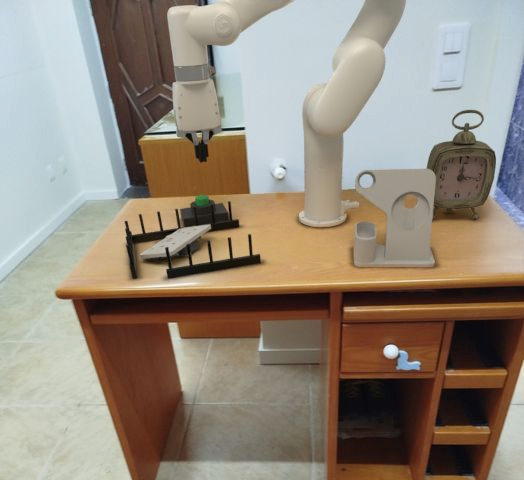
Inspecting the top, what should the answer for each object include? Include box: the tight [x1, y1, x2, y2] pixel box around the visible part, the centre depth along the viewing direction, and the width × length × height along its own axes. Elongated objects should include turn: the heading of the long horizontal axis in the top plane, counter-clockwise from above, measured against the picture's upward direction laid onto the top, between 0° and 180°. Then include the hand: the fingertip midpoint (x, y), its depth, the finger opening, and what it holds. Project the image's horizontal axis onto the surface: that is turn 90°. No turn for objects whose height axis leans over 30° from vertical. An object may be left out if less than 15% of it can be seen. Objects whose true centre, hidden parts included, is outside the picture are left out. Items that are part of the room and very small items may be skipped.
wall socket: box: [139, 224, 211, 262], centre depth 115 cm, size 18×15×4 cm
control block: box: [179, 198, 230, 227], centre depth 130 cm, size 12×8×5 cm, turn 104°
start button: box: [194, 194, 210, 206], centre depth 128 cm, size 4×4×2 cm
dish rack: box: [124, 200, 262, 280], centre depth 113 cm, size 28×24×7 cm
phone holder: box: [352, 168, 436, 268], centre depth 102 cm, size 17×10×18 cm, turn 82°
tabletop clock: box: [425, 109, 497, 221], centre depth 117 cm, size 14×9×25 cm, turn 83°
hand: (202, 160), depth 116 cm, fingers closed
